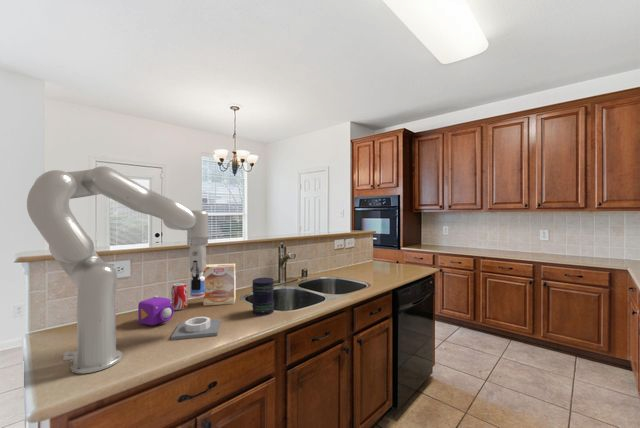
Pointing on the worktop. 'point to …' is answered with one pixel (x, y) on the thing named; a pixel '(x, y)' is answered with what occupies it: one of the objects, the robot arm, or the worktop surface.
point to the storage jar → (263, 296)
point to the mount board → (196, 328)
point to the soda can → (179, 296)
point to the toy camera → (155, 311)
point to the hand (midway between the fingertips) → (197, 287)
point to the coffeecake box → (220, 284)
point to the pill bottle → (198, 292)
